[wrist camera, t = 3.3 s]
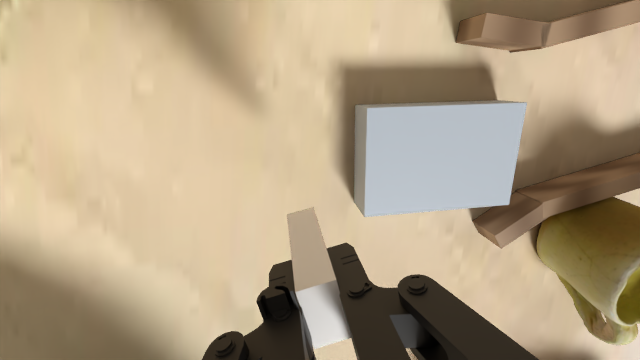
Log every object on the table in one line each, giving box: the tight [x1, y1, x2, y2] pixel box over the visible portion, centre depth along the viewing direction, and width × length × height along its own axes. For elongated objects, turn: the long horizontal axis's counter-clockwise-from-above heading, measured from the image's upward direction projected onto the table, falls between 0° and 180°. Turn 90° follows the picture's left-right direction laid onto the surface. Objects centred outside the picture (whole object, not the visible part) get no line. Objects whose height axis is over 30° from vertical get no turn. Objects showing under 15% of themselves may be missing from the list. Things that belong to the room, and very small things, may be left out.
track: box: [456, 0, 640, 249], centre depth 25 cm, size 24×18×5 cm
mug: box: [536, 197, 640, 345], centre depth 28 cm, size 12×10×10 cm
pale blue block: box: [354, 100, 527, 217], centre depth 25 cm, size 12×8×4 cm, turn 91°
